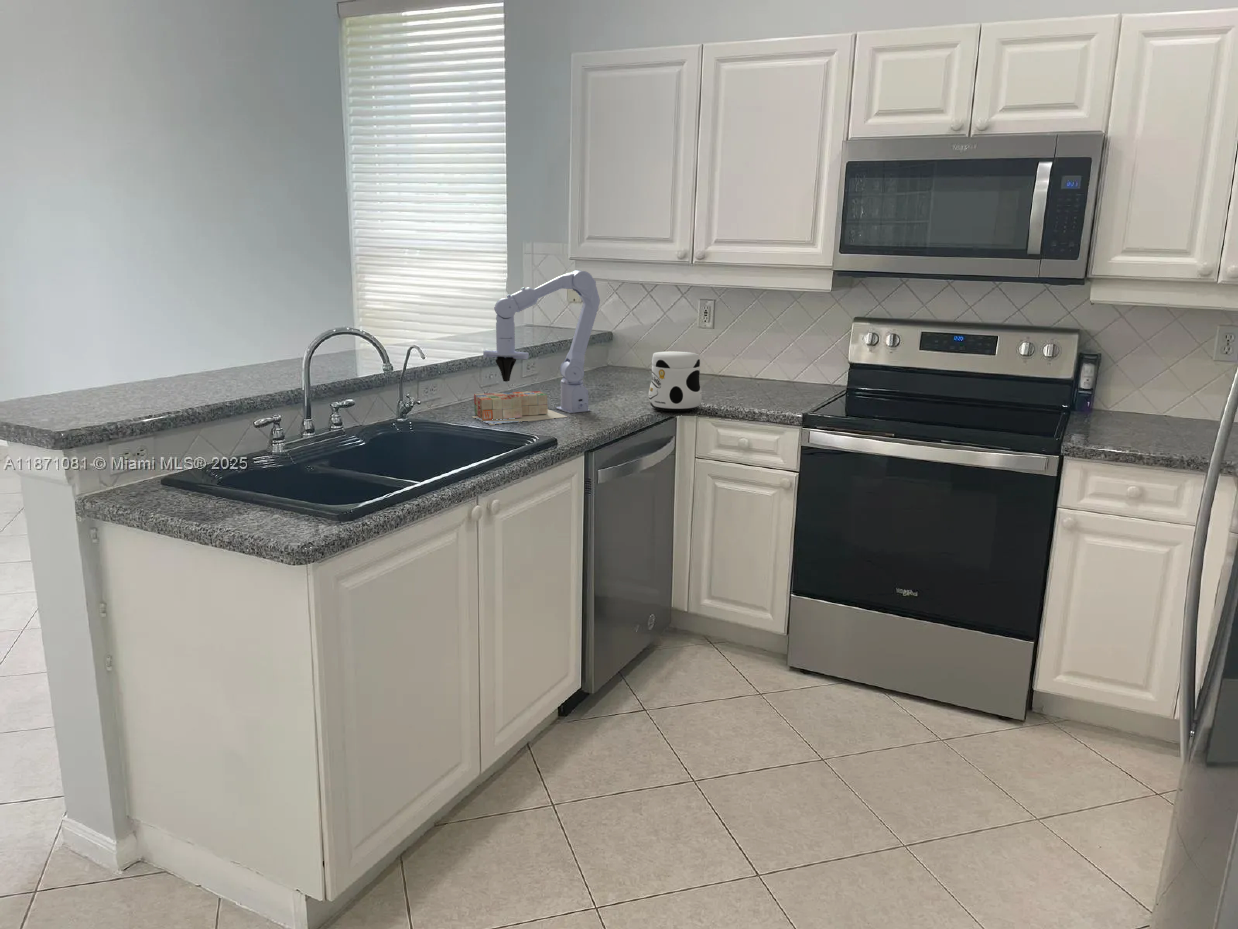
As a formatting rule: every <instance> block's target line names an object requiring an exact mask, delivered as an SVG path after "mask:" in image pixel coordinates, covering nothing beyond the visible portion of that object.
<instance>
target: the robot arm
mask: <svg viewBox="0 0 1238 929" xmlns="http://www.w3.org/2000/svg"><path fill="white" fill-rule="evenodd" d="M561 289H566V290H573V291H574V292H576V293H577V295H578V297H579V298H580V299H581V302H582V307H581V309H580V313H579V316H578V320H577V324H576V327H575V330H574V334H573V337H572V342H571V344H570V348H569V351H568V352H567V354H566V356H565V359H564V360H563V361H562V362H561V364H560V366H559V372H560V375H561V377H562V378H561V380H560V405H559V406H555V409H556V410H560V411H562V412H565V413H568V414H575V413H584V412H591V409H589V390H588V388H587V387H586V386H584V380H583V378H584V377H585V370H584V366H585V363H586V362H585V361H586V360H585V356H586V352H587V347H588V345H589V341H590V337H591V334H592V330H593V327H594V323H595V321H596V317H597V313H598V310H599V306H600V301H601V299H600V296H599V291H598V287H597V282H596V280H595V278H594V277H593V276H592V274H591V273H589V272H588V271H586V270H580V269H576V270H573V271H571V272H567V273H564V274H561V275H559V276H556V277H555V278H553V279H550V280H549V281H547V282H545V283H543V284H541V285H539V286H538V287H535V288H532V287H529V286H527V287H525V286H523V287H520V290H518V291H517V292H514V293H512V294H510V293H509V294H507V295H506V297H507V298H503V297H502V298H500V299H498V300H497V301H496V303H495V304H494V312H495V314H496V318H495V320H496V322H495V330H496V331H495V335H496V336H495V337H496V338H495V339H496V343H495V344H496V350H483V351H482V352H483V355H482V356H483V358H496V359H495V364H496V365H497V367H498V368H499V371H500V374H501V377H502V381H503V382H505V383H506V382H510V379H511V375H512V371H513V370H514V366H515V364H516V362H517V360H519V359H520V360H529V358H530V357H529V356H530V355H529V352H526V351H525V352H524V351H517V350H516V344H515V343H516V340H515V339H516V334H515V332H516V331H515V329H516V328H515V326H516V325H515V319H514V318H515V314H516V313H520V312H522V311H524V310H526V309H530V307H533V306H535V305H537V302H538V301H539V299H540V298H542V297H545V296H547V295H549V294H552V293H554V292H557V291H559V290H561Z"/></svg>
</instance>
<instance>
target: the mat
mask: <svg viewBox="0 0 1238 929" xmlns="http://www.w3.org/2000/svg"><path fill="white" fill-rule="evenodd" d="M471 418H472V419H475V418H480V417H479V416H478V415H475V416H471ZM554 418H556V419H563V418H565V419H566V418H569V416H567V415H564V414H563V413H559V412H556V411H554V410H550V409H548V414H538V415H522V417H519V418H515V419H507V420H503V419H502V420H500V419H498V420H481V421H480V422H482V421H519V422H518V423H523V422H522V421H528V422H535V421H537V422H538V421H543V420H553V419H554ZM554 420H555V419H554ZM520 421H521V422H520ZM497 424H499V425H502V424H501V423H497ZM488 426H496V425H495V424H491V423H490V424H489V425H488Z"/></svg>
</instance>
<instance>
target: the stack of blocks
mask: <svg viewBox="0 0 1238 929" xmlns="http://www.w3.org/2000/svg"><path fill="white" fill-rule="evenodd" d="M473 401H474V402H473V403H474V414H475V416H479V417H480V418H481V419H482V420H492V419H493V420H496V419H509V418H519V417H522V415H538V414H548V410H549V408H548V406H549V405H548V394H546V393H544V392H542V391H540V390H537V391H534V390H533V391H512V392H493V393H492V392H491V393H473Z"/></svg>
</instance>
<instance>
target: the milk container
mask: <svg viewBox="0 0 1238 929" xmlns="http://www.w3.org/2000/svg"><path fill="white" fill-rule="evenodd" d="M700 373H701V355H700V354H699V353H695V352H692V351H691V352H690V351H678V350H677V351H676V350H675V351H672V350H671V351H668V350H667V351H658V352H657V351H656V352H654V353H652V357H651V381H650V386H649V390H648V401H649V402H648V403H649V405H650V406H651V407H652V408H654V409H657V410H660V411H666V412H687V411H694V410H695V409H698V408H699V407H700V406H701V402H702V398H703V392H702V387H701V383H700V381H701V380H700V378H701V377H700V376H701V374H700Z"/></svg>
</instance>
